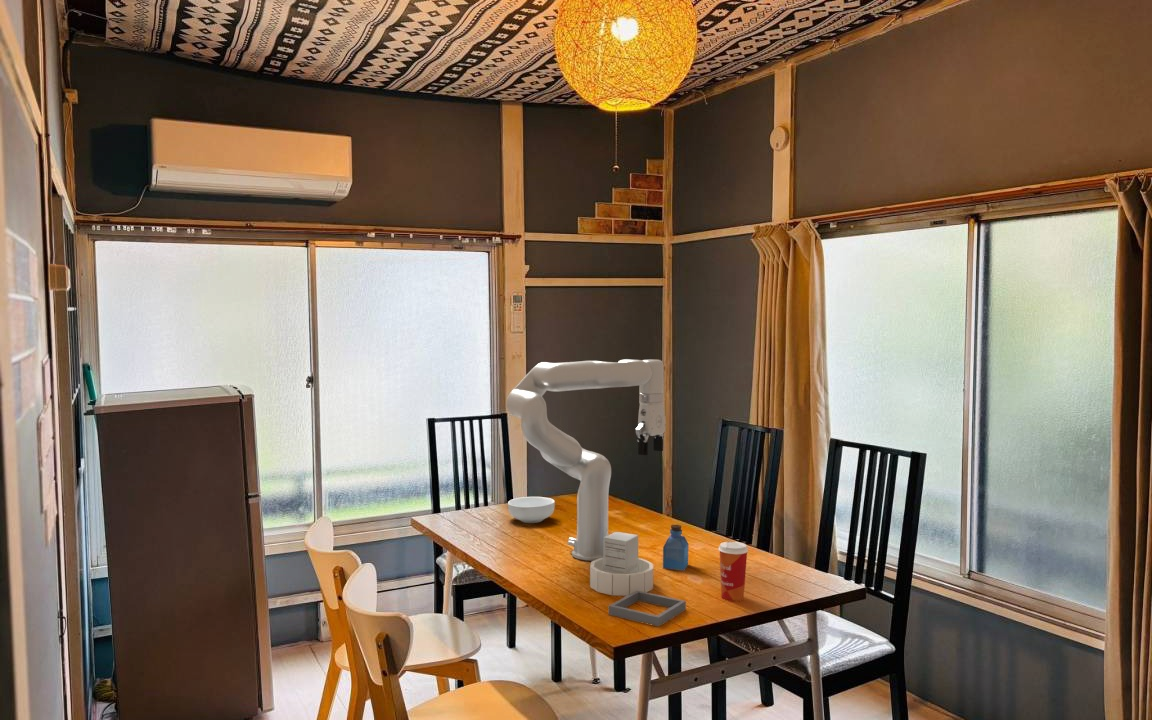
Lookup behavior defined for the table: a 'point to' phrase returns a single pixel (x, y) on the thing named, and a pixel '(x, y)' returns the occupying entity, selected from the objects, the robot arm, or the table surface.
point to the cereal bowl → (531, 508)
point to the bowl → (621, 579)
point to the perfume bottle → (675, 550)
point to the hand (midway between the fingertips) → (650, 452)
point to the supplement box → (620, 553)
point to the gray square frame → (621, 611)
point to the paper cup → (733, 570)
